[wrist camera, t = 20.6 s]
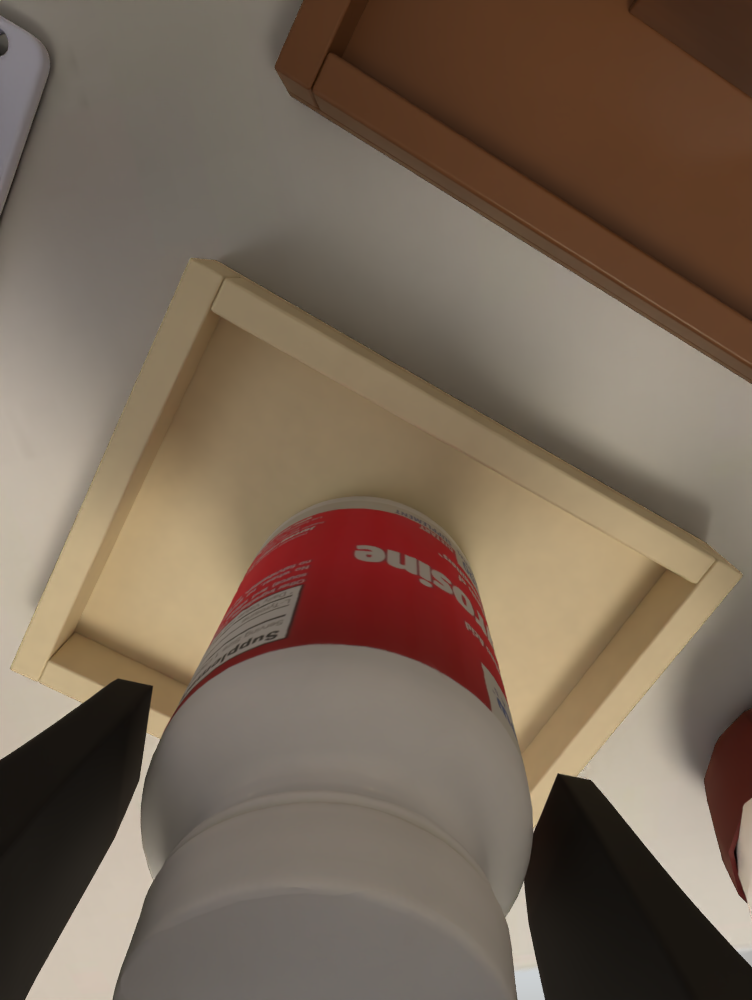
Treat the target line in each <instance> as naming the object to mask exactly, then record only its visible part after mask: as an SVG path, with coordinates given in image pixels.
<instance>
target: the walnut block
mask: <svg viewBox="0 0 752 1000" xmlns="http://www.w3.org/2000/svg"><path fill="white" fill-rule="evenodd" d="M629 12H630V13H631V14H633V15H634V16H635V17H637V18H638V19H640V20H641V21H643V22H644V23H645V24H647V25H648V26H650V27H651V28H653V29H654V30H655V31H657V32H658V33H660V34H661V35H663V36H664V37H665V38H667V39H668V40H670V41H671V42H673V43H674V44H676V45H677V46H678V47H680V48H681V49H683V50H684V51H686V52H687V53H688V54H690V55H691V56H693V57H694V58H696V59H697V60H698V61H700V62H701V63H703V64H704V65H706V66H707V67H708V68H710V69H711V70H713V71H714V72H716V73H717V74H718V75H720V76H721V77H723V78H724V79H726V80H727V81H729V82H730V83H731V84H733V85H734V86H736V87H737V88H739V89H740V90H741V91H743V92H744V93H746V94H747V95H749V96H750V97H751V98H752V0H634V2H633V4H632V6H631V7H630V10H629Z"/></svg>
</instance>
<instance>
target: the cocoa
mask: <svg viewBox="0 0 752 1000" xmlns="http://www.w3.org/2000/svg"><path fill="white" fill-rule="evenodd" d="M704 784H705V790H706V796H707V802H708V806H709V810H710V814H711V818H712V822H713V826H714V830H715V834H716V838H717V841H718V845H719V849H720V852H721V856H722V860H723V863H724V865H725V867H726V869H727V871H728V873H729V876H730V878H731V880H732V882H733V884H734V886H735V888H736V890H737V892H738V894H739V896H740V897H741V898H742V899H743V900H744V901H745V902H746V903H747V904H748V906H749V910H750V914H751V919H752V708H751V709H749V710H747V711H744V712H743V713H742V714H741V715H740V716H739V717H738V718H737V719H736V720H735V722H734V723H733V724H732V725H731V726H730V727H729V728H728V729H727V730H726V731H725V732H724V733H723V734H722V735H721V736H720V737H719V739H718V741H717V742H716V744H715V747H714V750H713V753H712V756H711V759H710V762H709V766H708V769H707V772H706V775H705V778H704Z"/></svg>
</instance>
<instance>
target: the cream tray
mask: <svg viewBox="0 0 752 1000" xmlns="http://www.w3.org/2000/svg"><path fill="white" fill-rule="evenodd" d="M351 496H369V497H378V498H384V499H389V500H392V501H396V502H399V503H401V504H404V505H406V506H409V507H411V508H413V509H415V510H417V511H419V512H421V513H423V514H424V515H426V516H428V517H429V518H430V519H432V520H433V521H434V522H436V523H437V524H438V525H439V526H441V527H442V528H443V529H444V530H445V531H446V532H447V533H448V534H449V535H450V536H451V538H452V539H453V540H454V541H455V542H456V544H457V545H458V546H459V548H460V550H461V551H462V553H463V554H464V556H465V557H466V559H467V561H468V562H469V565H470V567H471V569H472V572H473V574H474V577H475V580H476V583H477V586H478V590H479V594H480V598H481V602H482V605H483V609H484V612H485V616H486V620H487V623H488V628H489V632H490V635H491V638H492V641H493V646H494V650H495V655H496V658H497V661H498V664H499V670H500V674H501V677H502V680H503V684H504V688H505V693H506V697H507V701H508V705H509V709H510V713H511V716H512V720H513V724H514V728H515V732H516V736H517V740H518V744H519V748H520V752H521V755H522V759H523V763H524V767H525V771H526V776H527V780H528V786H529V792H530V797H531V803H532V810H533V828H534V827H535V826H536V825H537V823H538V821H539V818H540V816H541V813H542V811H543V808H544V806H545V803H546V801H547V798H548V796H549V793H550V791H551V789H552V786H553V784H554V781H555V779H556V776H557V774H558V773H559V774H564V775H569V776H573V777H577V775H578V774H579V773H580V772H581V771H582V769H583V768H584V767H585V766H586V764H587V763H588V762H589V761H590V760H591V758H592V757H593V756H594V755H595V754H596V752H597V751H598V750H599V749H600V748H601V746H602V745H603V744H604V743H605V742H606V740H607V739H608V738H609V737H610V736H611V734H612V733H613V732H614V731H615V730H616V728H617V727H618V726H619V725H620V724H621V722H622V721H623V720H624V719H625V717H626V716H627V715H628V714H629V713H630V711H631V710H632V709H633V708H634V707H635V705H636V704H637V703H638V702H639V701H640V699H641V698H642V697H643V696H644V695H645V693H646V692H647V691H648V690H649V689H650V687H651V686H652V685H653V684H654V683H655V681H656V680H657V679H658V678H659V676H660V675H661V674H662V673H663V672H664V670H665V669H666V668H667V667H668V666H669V664H670V663H671V662H672V661H673V660H674V658H675V657H676V656H677V655H678V654H679V652H680V651H681V650H682V649H683V648H684V646H685V645H686V644H687V643H688V642H689V640H690V639H691V638H692V637H693V635H694V634H695V633H696V632H697V631H698V629H699V628H700V627H701V626H702V625H703V623H704V622H705V621H706V620H707V619H708V617H709V616H710V615H711V614H712V613H713V611H714V610H715V609H716V608H717V607H718V605H719V604H720V603H721V602H722V601H723V599H724V598H725V597H726V596H727V594H728V593H729V592H730V591H731V590H732V588H733V587H734V586H735V585H736V584H737V582H738V581H739V580H740V579H741V578H742V576H743V574H742V573H741V572H740V571H739V570H738V569H736V568H735V567H734V566H733V565H732V564H730V563H729V562H728V561H727V560H726V559H725V558H723V557H722V556H721V555H720V554H719V553H718V552H716V551H715V550H714V549H713V548H712V547H711V546H709V545H708V544H707V543H706V542H704V541H702V540H700V539H699V538H697V537H695V536H693V535H692V534H690V533H688V532H686V531H685V530H683V529H681V528H680V527H678V526H676V525H674V524H673V523H671V522H669V521H667V520H666V519H664V518H662V517H660V516H659V515H657V514H655V513H654V512H652V511H650V510H648V509H647V508H645V507H643V506H641V505H640V504H638V503H636V502H634V501H633V500H631V499H629V498H627V497H626V496H624V495H622V494H621V493H619V492H617V491H615V490H614V489H612V488H610V487H608V486H607V485H605V484H603V483H601V482H600V481H598V480H596V479H595V478H593V477H591V476H589V475H588V474H586V473H584V472H582V471H581V470H579V469H577V468H575V467H574V466H572V465H570V464H569V463H567V462H565V461H563V460H562V459H560V458H558V457H556V456H555V455H553V454H551V453H549V452H548V451H546V450H544V449H543V448H541V447H539V446H537V445H536V444H534V443H532V442H530V441H529V440H527V439H525V438H523V437H522V436H520V435H518V434H517V433H515V432H513V431H511V430H510V429H508V428H506V427H504V426H503V425H501V424H499V423H497V422H496V421H494V420H492V419H491V418H489V417H487V416H485V415H484V414H482V413H480V412H478V411H477V410H475V409H473V408H471V407H470V406H468V405H466V404H465V403H463V402H461V401H459V400H458V399H456V398H454V397H452V396H451V395H449V394H447V393H445V392H444V391H442V390H440V389H439V388H437V387H435V386H433V385H432V384H430V383H428V382H426V381H425V380H423V379H421V378H419V377H418V376H416V375H414V374H413V373H411V372H409V371H407V370H406V369H404V368H402V367H400V366H399V365H397V364H395V363H393V362H392V361H390V360H388V359H387V358H385V357H383V356H381V355H380V354H378V353H376V352H374V351H373V350H371V349H369V348H367V347H366V346H364V345H362V344H361V343H359V342H357V341H355V340H354V339H352V338H350V337H348V336H347V335H345V334H343V333H341V332H340V331H338V330H336V329H335V328H333V327H331V326H329V325H328V324H326V323H324V322H322V321H321V320H319V319H317V318H315V317H314V316H312V315H310V314H308V313H307V312H305V311H303V310H302V309H300V308H298V307H296V306H295V305H293V304H291V303H289V302H288V301H286V300H284V299H282V298H281V297H279V296H277V295H276V294H274V293H272V292H270V291H269V290H267V289H265V288H263V287H262V286H260V285H258V284H256V283H255V282H253V281H251V280H250V279H248V278H246V277H244V276H243V275H241V274H239V273H237V272H236V271H234V270H232V269H230V268H229V267H227V266H225V265H224V264H222V263H220V262H218V261H217V260H208V259H198V258H190V259H189V262H188V264H187V266H186V269H185V271H184V273H183V275H182V278H181V280H180V282H179V284H178V287H177V289H176V291H175V294H174V296H173V298H172V300H171V303H170V305H169V307H168V310H167V312H166V314H165V316H164V319H163V321H162V323H161V326H160V328H159V330H158V332H157V335H156V337H155V339H154V341H153V344H152V346H151V348H150V351H149V353H148V355H147V357H146V360H145V362H144V364H143V367H142V369H141V371H140V373H139V376H138V378H137V380H136V382H135V385H134V387H133V389H132V392H131V394H130V396H129V398H128V401H127V403H126V405H125V408H124V410H123V412H122V414H121V417H120V419H119V421H118V423H117V426H116V428H115V430H114V433H113V435H112V437H111V439H110V442H109V444H108V446H107V449H106V451H105V453H104V455H103V458H102V460H101V462H100V464H99V467H98V469H97V471H96V474H95V476H94V478H93V480H92V483H91V485H90V487H89V490H88V492H87V494H86V496H85V499H84V501H83V503H82V505H81V508H80V510H79V512H78V515H77V517H76V519H75V521H74V524H73V526H72V528H71V531H70V533H69V535H68V537H67V540H66V542H65V544H64V547H63V549H62V551H61V553H60V556H59V558H58V560H57V562H56V565H55V567H54V569H53V572H52V574H51V576H50V578H49V581H48V583H47V585H46V588H45V590H44V592H43V594H42V597H41V599H40V601H39V603H38V606H37V608H36V610H35V613H34V615H33V617H32V619H31V622H30V624H29V626H28V629H27V631H26V633H25V635H24V638H23V640H22V642H21V644H20V647H19V649H18V651H17V654H16V656H15V658H14V660H13V663H12V665H11V668H10V669H11V670H12V671H15V672H17V673H19V674H21V675H23V676H25V677H28V678H30V679H32V680H34V681H39V683H41V684H43V685H45V686H47V687H49V688H51V689H54V690H56V691H58V692H60V693H62V694H64V695H67V696H69V697H71V698H73V699H75V700H77V701H79V702H82V703H84V702H85V701H86V700H88V699H89V698H90V697H92V696H93V695H94V694H96V693H97V692H98V691H100V690H101V689H102V688H104V687H105V686H107V685H108V684H109V683H111V682H112V681H114V680H116V679H118V678H119V679H124V680H128V681H133V682H138V683H142V684H147V685H151V686H153V691H152V697H151V704H150V711H149V717H148V724H147V731H146V733H149V734H151V735H153V736H155V737H157V738H159V739H161V736H162V734H163V732H164V730H165V728H166V726H167V724H168V722H169V721H170V719H171V717H172V715H173V714H174V712H175V710H176V708H177V706H178V704H179V702H180V700H181V698H182V696H183V694H184V692H185V691H186V689H187V687H188V685H189V683H190V681H191V679H192V677H193V675H194V673H195V671H196V669H197V668H198V666H199V664H200V662H201V660H202V658H203V656H204V654H205V652H206V650H207V649H208V647H209V645H210V643H211V641H212V639H213V637H214V635H215V633H216V631H217V629H218V627H219V625H220V623H221V621H222V619H223V617H224V615H225V613H226V611H227V609H228V608H229V606H230V604H231V602H232V599H233V597H234V596H235V594H236V592H237V590H238V588H239V585H240V583H241V582H242V581H243V578H244V576H245V574H246V572H247V570H248V569H249V567H250V566H251V564H252V562H253V560H254V558H255V557H256V555H257V553H258V552H259V550H260V549H261V547H262V546H263V544H264V543H265V541H266V540H267V539H268V538H269V536H270V535H271V534H272V533H273V532H274V531H275V530H276V529H277V528H278V527H279V526H280V525H281V524H283V523H284V522H285V521H286V520H288V519H289V518H291V517H292V516H294V515H295V514H297V513H298V512H300V511H302V510H304V509H306V508H308V507H310V506H313V505H315V504H317V503H321V502H324V501H328V500H331V499H336V498H342V497H351Z"/></svg>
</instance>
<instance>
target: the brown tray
mask: <svg viewBox="0 0 752 1000" xmlns="http://www.w3.org/2000/svg"><path fill="white" fill-rule="evenodd" d="M633 2H634V0H303V2H302V4H301V7H300V9H299V11H298V14H297V16H296V18H295V20H294V23H293V25H292V27H291V29H290V32H289V34H288V36H287V39H286V41H285V43H284V45H283V48H282V50H281V52H280V55H279V57H278V59H277V61H276V64H275V70H276V71H277V73H278V75H279V77H280V78H281V80H282V82H283V84H284V85H285V87H286V89H287V91H288V93H289V94H290V96H292V97H293V98H295V99H296V100H298V101H300V102H301V103H303V104H304V105H306V106H308V107H309V108H311V109H312V110H314V111H316V112H317V113H319V114H320V115H322V116H324V117H325V118H327V119H328V120H330V121H332V122H333V123H335V124H336V125H338V126H340V127H341V128H343V129H344V130H346V131H348V132H349V133H351V134H352V135H354V136H356V137H357V138H359V139H360V140H362V141H364V142H365V143H367V144H368V145H370V146H372V147H373V148H375V149H376V150H378V151H380V152H381V153H383V154H384V155H386V156H388V157H389V158H391V159H392V160H394V161H396V162H397V163H399V164H400V165H402V166H404V167H405V168H407V169H408V170H410V171H412V172H413V173H415V174H416V175H418V176H420V177H421V178H423V179H424V180H426V181H428V182H429V183H431V184H432V185H434V186H436V187H437V188H439V189H441V190H442V191H444V192H445V193H447V194H449V195H450V196H452V197H453V198H455V199H457V200H458V201H460V202H461V203H463V204H465V205H466V206H468V207H469V208H471V209H473V210H474V211H476V212H477V213H479V214H481V215H482V216H484V217H485V218H487V219H489V220H490V221H492V222H493V223H495V224H497V225H498V226H500V227H501V228H503V229H505V230H506V231H508V232H509V233H511V234H513V235H514V236H516V237H517V238H519V239H521V240H522V241H524V242H525V243H527V244H529V245H530V246H532V247H533V248H535V249H537V250H538V251H540V252H541V253H543V254H545V255H546V256H548V257H549V258H551V259H553V260H554V261H556V262H557V263H559V264H561V265H562V266H564V267H565V268H567V269H569V270H570V271H572V272H573V273H575V274H577V275H578V276H580V277H581V278H583V279H585V280H586V281H588V282H589V283H591V284H593V285H594V286H596V287H597V288H599V289H601V290H602V291H604V292H605V293H607V294H609V295H610V296H612V297H613V298H615V299H617V300H618V301H620V302H621V303H623V304H625V305H626V306H628V307H629V308H631V309H633V310H634V311H636V312H637V313H639V314H641V315H642V316H644V317H645V318H647V319H649V320H650V321H652V322H653V323H655V324H657V325H658V326H660V327H661V328H663V329H665V330H666V331H668V332H669V333H671V334H673V335H674V336H676V337H678V338H679V339H681V340H682V341H684V342H686V343H687V344H689V345H690V346H692V347H694V348H695V349H697V350H698V351H700V352H702V353H703V354H705V355H706V356H708V357H710V358H711V359H713V360H714V361H716V362H718V363H719V364H721V365H722V366H724V367H726V368H727V369H729V370H730V371H732V372H734V373H735V374H737V375H738V376H740V377H742V378H743V379H745V380H746V381H748V382H750V383H751V384H752V98H751V97H750V96H749V95H747V94H746V93H744V92H743V91H741V90H740V89H739V88H737V87H736V86H734V85H733V84H731V83H730V82H729V81H727V80H726V79H724V78H723V77H721V76H720V75H718V74H717V73H716V72H714V71H713V70H711V69H710V68H708V67H707V66H706V65H704V64H703V63H701V62H700V61H698V60H697V59H696V58H694V57H693V56H691V55H690V54H688V53H687V52H686V51H684V50H683V49H681V48H680V47H678V46H677V45H676V44H674V43H673V42H671V41H670V40H668V39H667V38H665V37H664V36H663V35H661V34H660V33H658V32H657V31H655V30H654V29H653V28H651V27H650V26H648V25H647V24H645V23H644V22H643V21H641V20H640V19H638V18H637V17H635V16H634V15H633V14H631V13H630V12H629V10H630V7H631V6H632V4H633Z"/></svg>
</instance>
